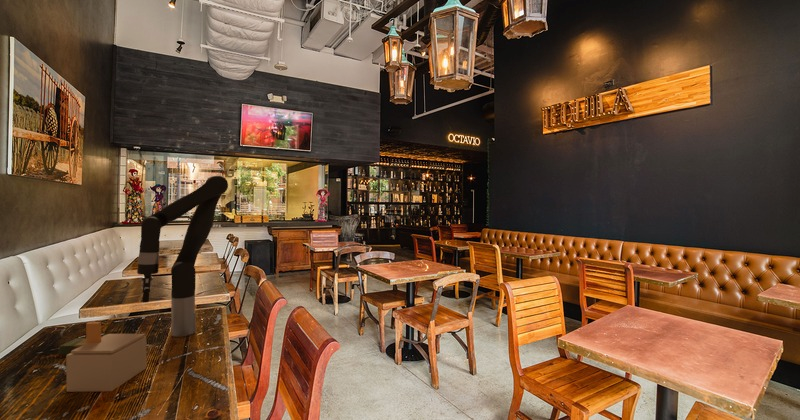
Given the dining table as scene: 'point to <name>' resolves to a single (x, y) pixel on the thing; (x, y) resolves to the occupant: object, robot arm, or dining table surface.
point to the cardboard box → (105, 368)
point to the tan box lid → (104, 340)
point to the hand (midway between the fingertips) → (145, 299)
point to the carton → (71, 346)
